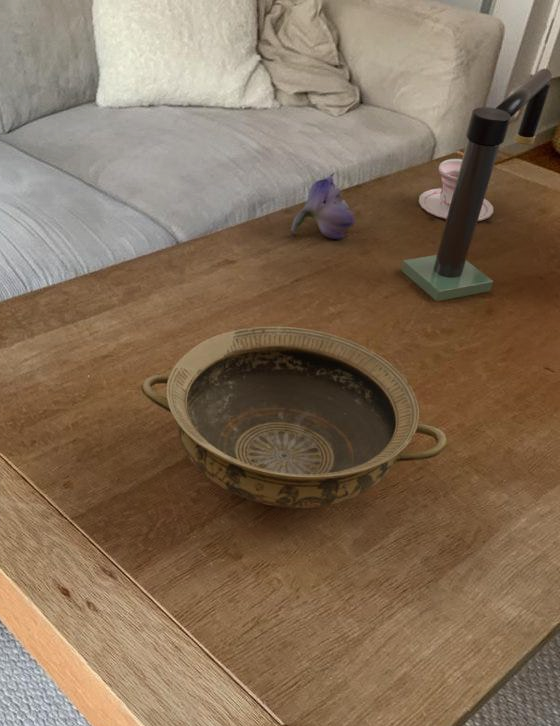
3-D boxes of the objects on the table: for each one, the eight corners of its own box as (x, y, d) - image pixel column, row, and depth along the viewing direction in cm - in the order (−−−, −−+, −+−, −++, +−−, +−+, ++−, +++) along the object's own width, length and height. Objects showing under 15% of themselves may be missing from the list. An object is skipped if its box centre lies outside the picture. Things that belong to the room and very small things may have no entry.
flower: (295, 206, 116) (350, 165, 116) (271, 206, 123) (323, 167, 124) (325, 261, 120) (378, 222, 120) (300, 258, 127) (350, 220, 128)
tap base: (452, 261, 120) (491, 124, 107) (490, 291, 114) (536, 149, 101) (400, 270, 117) (433, 130, 104) (436, 301, 111) (476, 157, 98)
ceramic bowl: (436, 432, 90) (460, 356, 84) (415, 591, 73) (443, 513, 67) (177, 375, 96) (180, 300, 89) (101, 512, 79) (97, 432, 72)
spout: (479, 209, 105) (504, 123, 98) (445, 199, 107) (467, 114, 99) (541, 142, 124) (566, 66, 116) (511, 134, 125) (534, 59, 118)
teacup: (414, 188, 138) (423, 152, 134) (486, 195, 138) (496, 158, 134) (422, 220, 130) (431, 181, 125) (498, 226, 129) (510, 188, 125)
